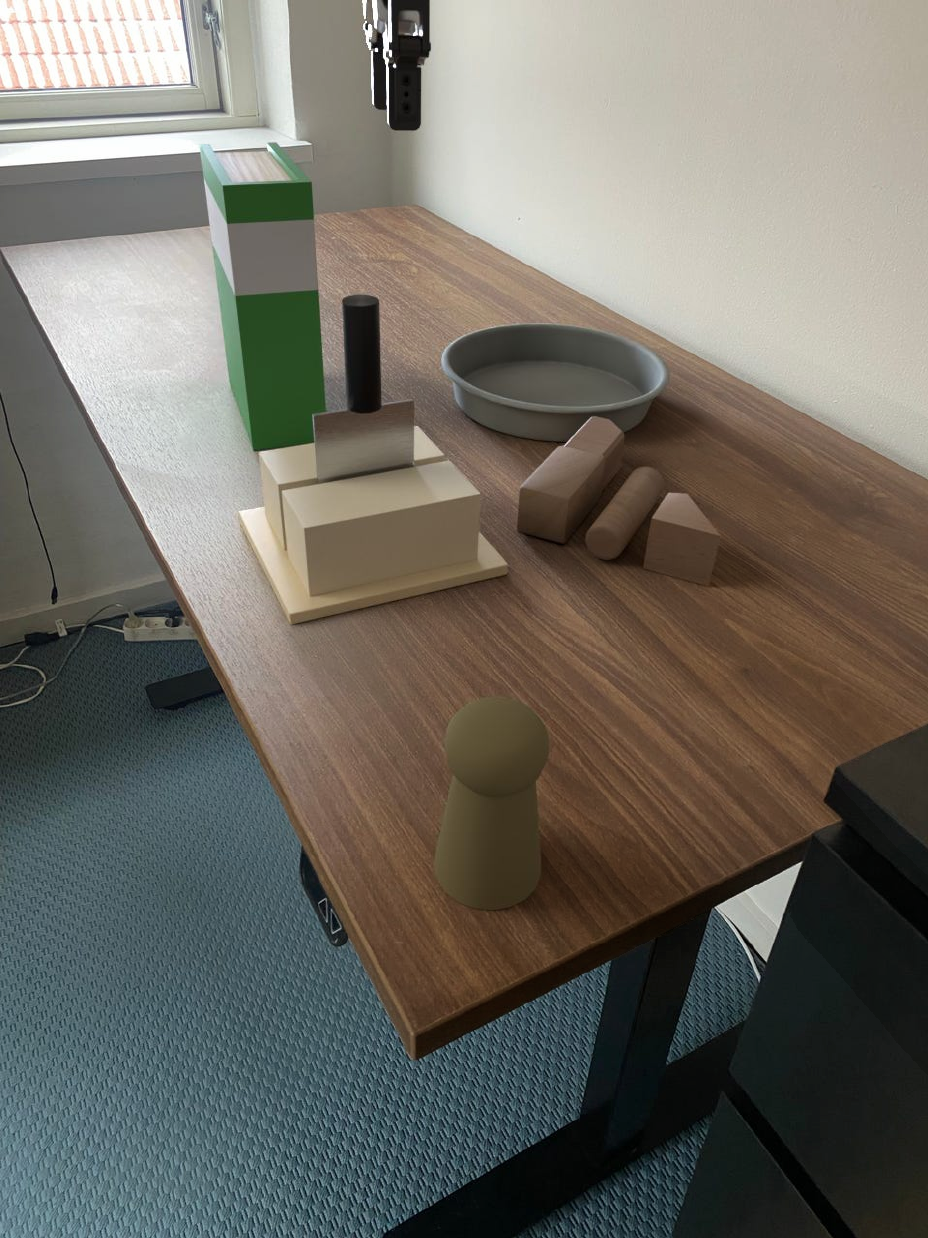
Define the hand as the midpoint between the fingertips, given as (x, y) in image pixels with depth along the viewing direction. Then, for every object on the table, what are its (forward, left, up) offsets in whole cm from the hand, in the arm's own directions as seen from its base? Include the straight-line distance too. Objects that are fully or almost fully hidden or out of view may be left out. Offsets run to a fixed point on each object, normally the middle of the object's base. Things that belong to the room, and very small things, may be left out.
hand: (395, 118), depth 66 cm
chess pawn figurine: (-11, -41, -31) cm, 52 cm away
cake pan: (+23, +14, -31) cm, 41 cm away
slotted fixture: (-6, -7, -31) cm, 32 cm away
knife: (-6, -7, -24) cm, 26 cm away
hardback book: (-6, +22, -31) cm, 38 cm away
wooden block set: (+18, -11, -31) cm, 38 cm away
